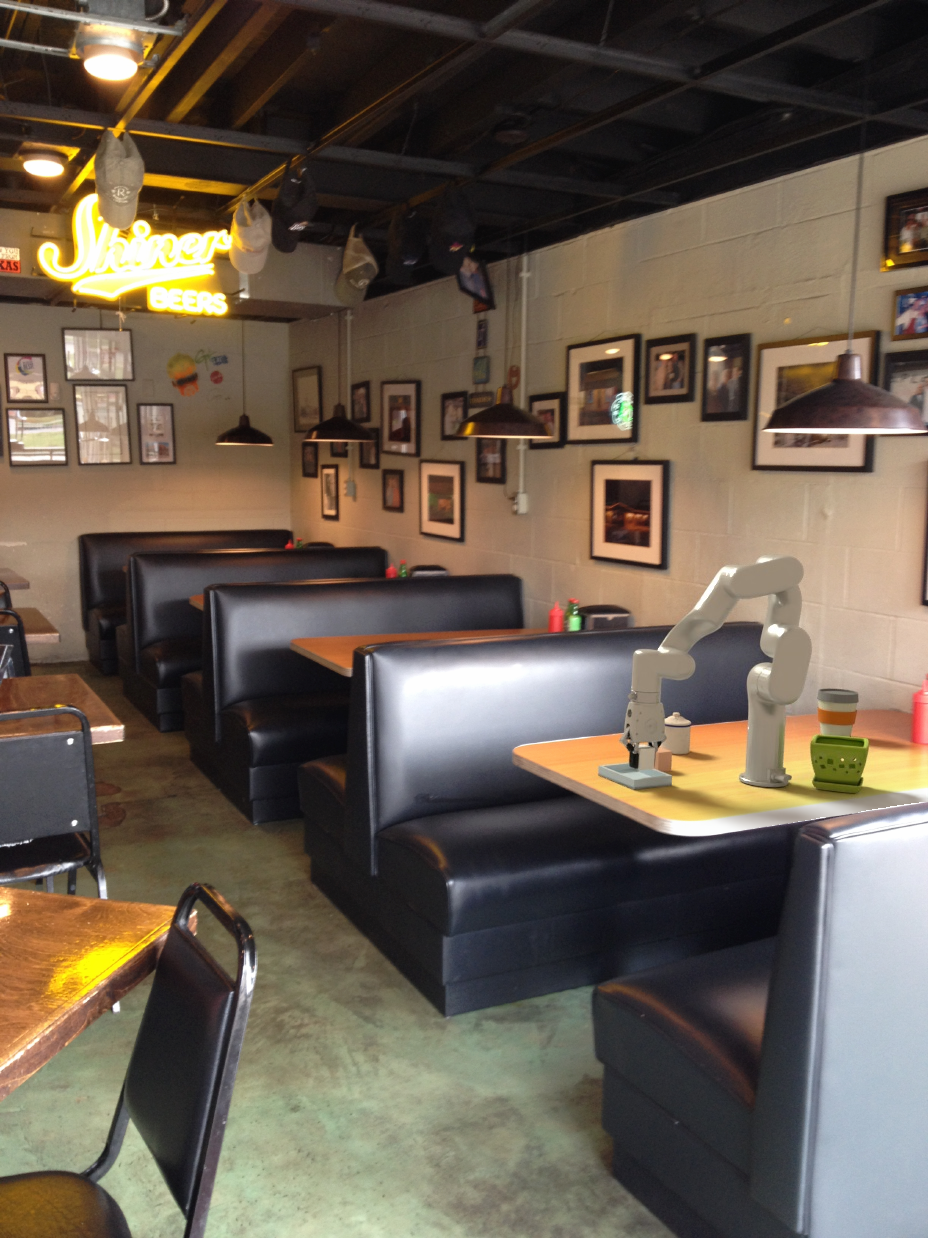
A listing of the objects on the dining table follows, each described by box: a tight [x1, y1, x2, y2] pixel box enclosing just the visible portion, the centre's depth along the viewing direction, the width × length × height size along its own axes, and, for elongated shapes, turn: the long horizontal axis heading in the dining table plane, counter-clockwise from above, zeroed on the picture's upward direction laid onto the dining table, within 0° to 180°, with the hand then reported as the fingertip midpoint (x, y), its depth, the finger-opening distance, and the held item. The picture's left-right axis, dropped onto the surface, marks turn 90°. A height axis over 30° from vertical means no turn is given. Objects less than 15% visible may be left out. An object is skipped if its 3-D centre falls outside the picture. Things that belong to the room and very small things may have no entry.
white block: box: [633, 743, 655, 770], centre depth 264 cm, size 4×4×6 cm
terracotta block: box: [654, 747, 673, 773], centre depth 280 cm, size 4×4×6 cm
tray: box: [597, 762, 673, 791], centre depth 267 cm, size 16×12×3 cm
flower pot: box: [809, 733, 870, 794], centre depth 264 cm, size 14×14×13 cm
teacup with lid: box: [659, 712, 692, 756], centre depth 303 cm, size 12×9×12 cm
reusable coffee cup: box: [816, 687, 860, 737], centre depth 328 cm, size 13×13×15 cm
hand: (641, 766), depth 264 cm, fingers closed on white block, 4 cm apart
